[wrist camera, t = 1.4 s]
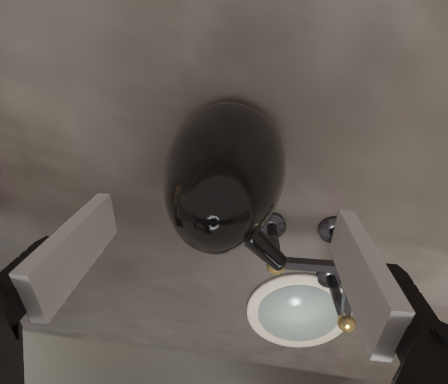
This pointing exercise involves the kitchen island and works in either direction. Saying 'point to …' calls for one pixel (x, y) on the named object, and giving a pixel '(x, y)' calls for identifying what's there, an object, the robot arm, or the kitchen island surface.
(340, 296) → the metal corner railing
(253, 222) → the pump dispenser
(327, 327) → the coaster
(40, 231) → the kitchen island surface
